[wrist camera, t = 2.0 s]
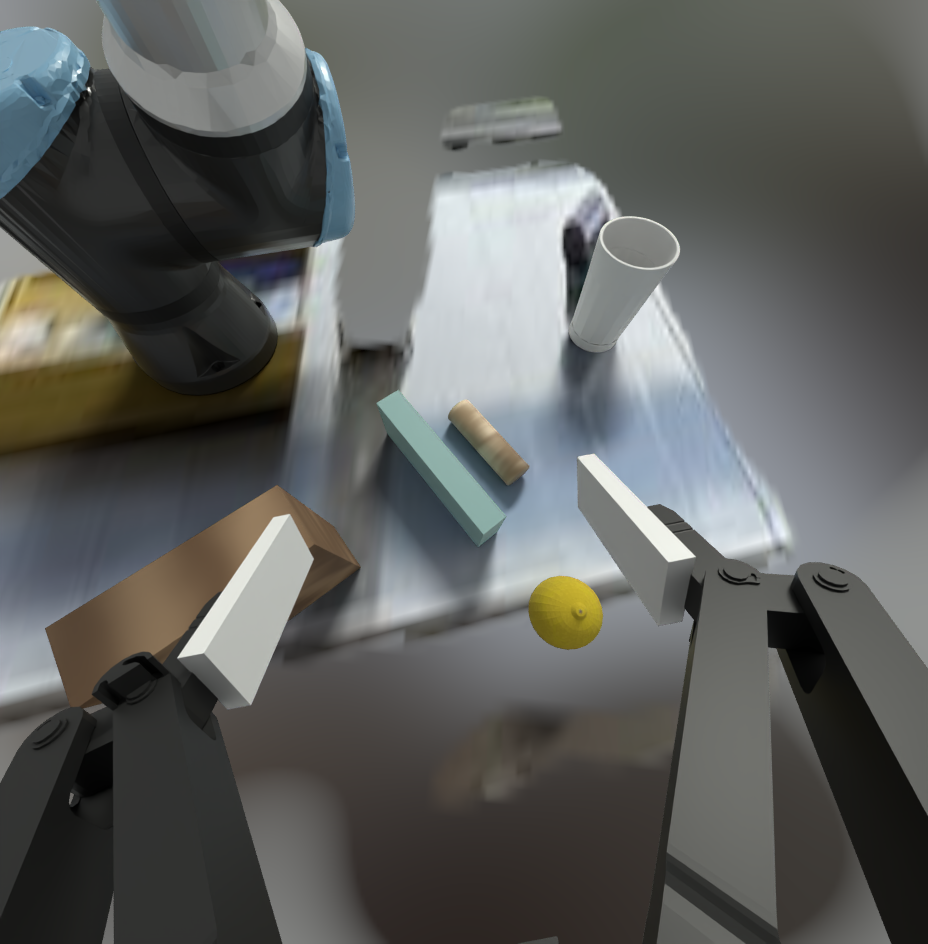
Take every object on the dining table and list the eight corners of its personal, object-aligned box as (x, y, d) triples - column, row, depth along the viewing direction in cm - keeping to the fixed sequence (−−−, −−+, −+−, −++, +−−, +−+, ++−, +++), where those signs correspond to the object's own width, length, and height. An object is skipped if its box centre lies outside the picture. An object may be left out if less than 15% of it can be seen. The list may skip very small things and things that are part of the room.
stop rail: (478, 547, 33) (483, 534, 28) (387, 433, 38) (376, 403, 32) (497, 532, 34) (506, 516, 29) (405, 421, 39) (398, 390, 33)
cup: (625, 360, 43) (685, 273, 32) (563, 354, 43) (602, 265, 32) (620, 314, 46) (674, 220, 35) (562, 308, 46) (597, 212, 35)
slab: (218, 673, 29) (72, 711, 18) (194, 622, 30) (44, 628, 19) (360, 567, 32) (314, 544, 21) (333, 526, 34) (277, 485, 23)
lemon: (514, 586, 32) (533, 578, 25) (569, 575, 33) (604, 564, 25) (529, 651, 30) (555, 663, 23) (588, 637, 31) (631, 645, 23)
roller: (510, 486, 37) (531, 467, 36) (504, 484, 34) (527, 464, 33) (453, 422, 40) (472, 404, 39) (444, 416, 37) (464, 396, 36)
